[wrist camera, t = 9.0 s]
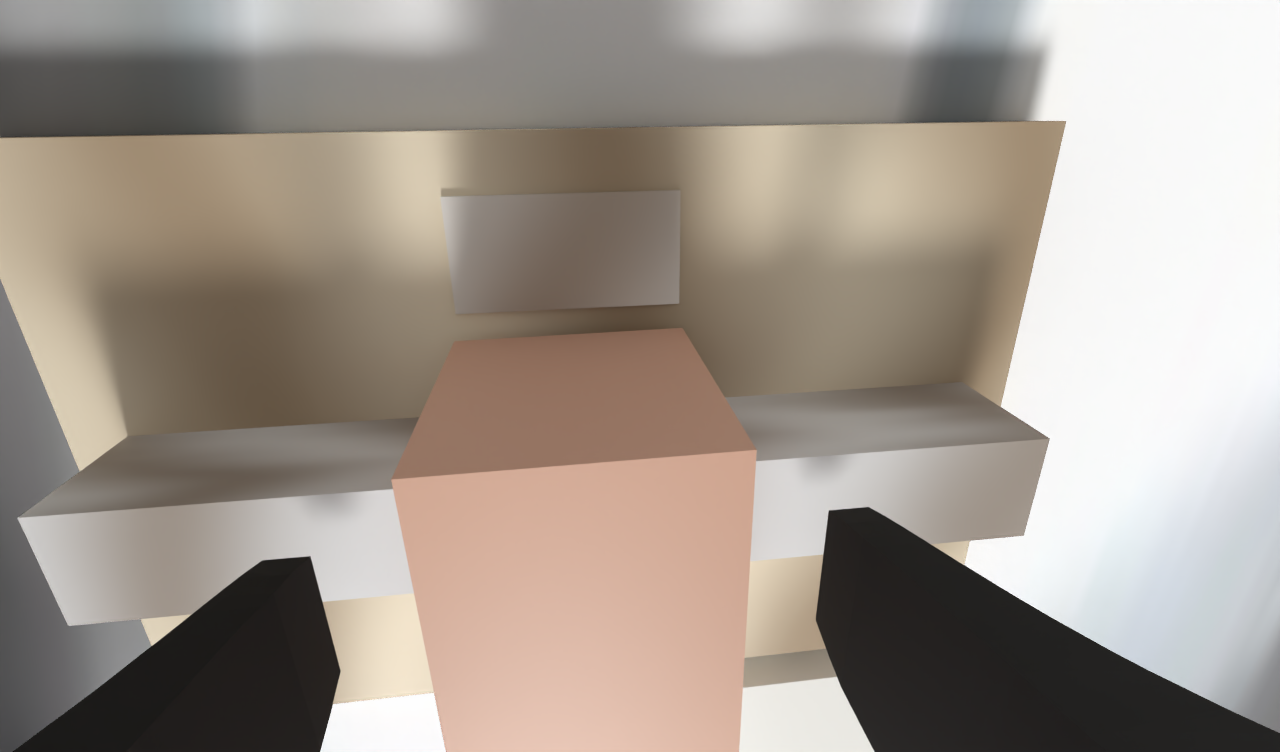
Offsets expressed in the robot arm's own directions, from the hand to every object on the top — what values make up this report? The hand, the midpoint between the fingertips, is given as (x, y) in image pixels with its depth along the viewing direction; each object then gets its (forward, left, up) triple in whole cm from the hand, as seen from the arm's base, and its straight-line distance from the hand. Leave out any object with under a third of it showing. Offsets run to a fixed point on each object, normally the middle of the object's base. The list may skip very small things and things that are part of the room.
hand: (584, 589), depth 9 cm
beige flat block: (0, 0, -5) cm, 5 cm away
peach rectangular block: (0, 0, -3) cm, 3 cm away
